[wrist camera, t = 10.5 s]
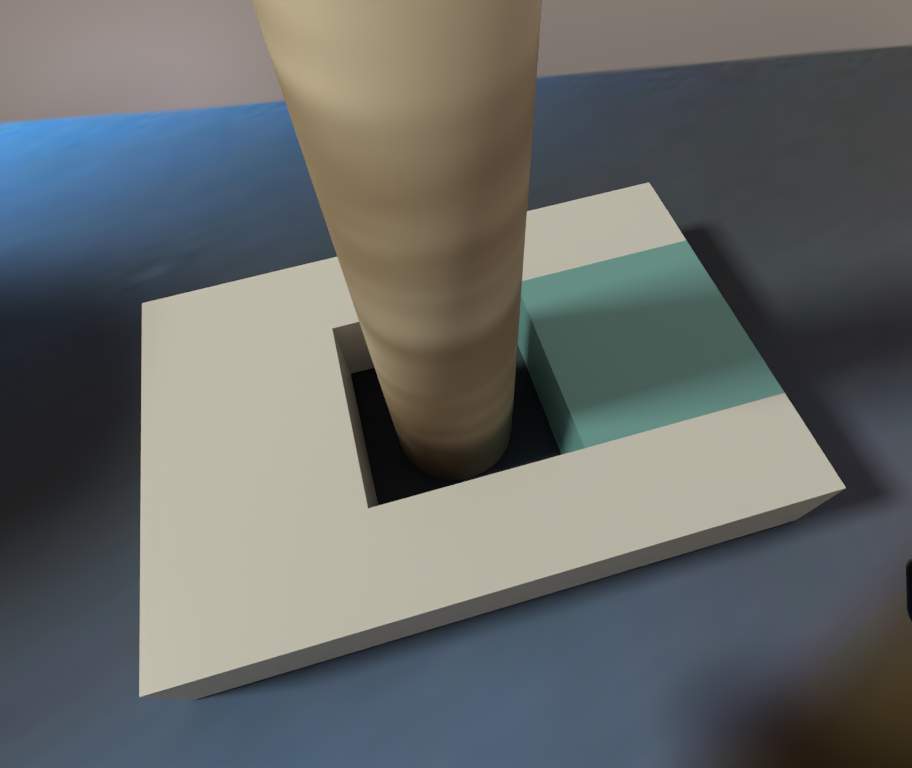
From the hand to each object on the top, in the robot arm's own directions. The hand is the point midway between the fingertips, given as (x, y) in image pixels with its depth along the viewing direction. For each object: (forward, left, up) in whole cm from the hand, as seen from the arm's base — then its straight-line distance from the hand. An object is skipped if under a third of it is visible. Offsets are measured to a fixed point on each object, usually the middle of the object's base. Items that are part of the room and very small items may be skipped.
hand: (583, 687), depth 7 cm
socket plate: (+5, -5, -7) cm, 11 cm away
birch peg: (+5, -5, -7) cm, 11 cm away
